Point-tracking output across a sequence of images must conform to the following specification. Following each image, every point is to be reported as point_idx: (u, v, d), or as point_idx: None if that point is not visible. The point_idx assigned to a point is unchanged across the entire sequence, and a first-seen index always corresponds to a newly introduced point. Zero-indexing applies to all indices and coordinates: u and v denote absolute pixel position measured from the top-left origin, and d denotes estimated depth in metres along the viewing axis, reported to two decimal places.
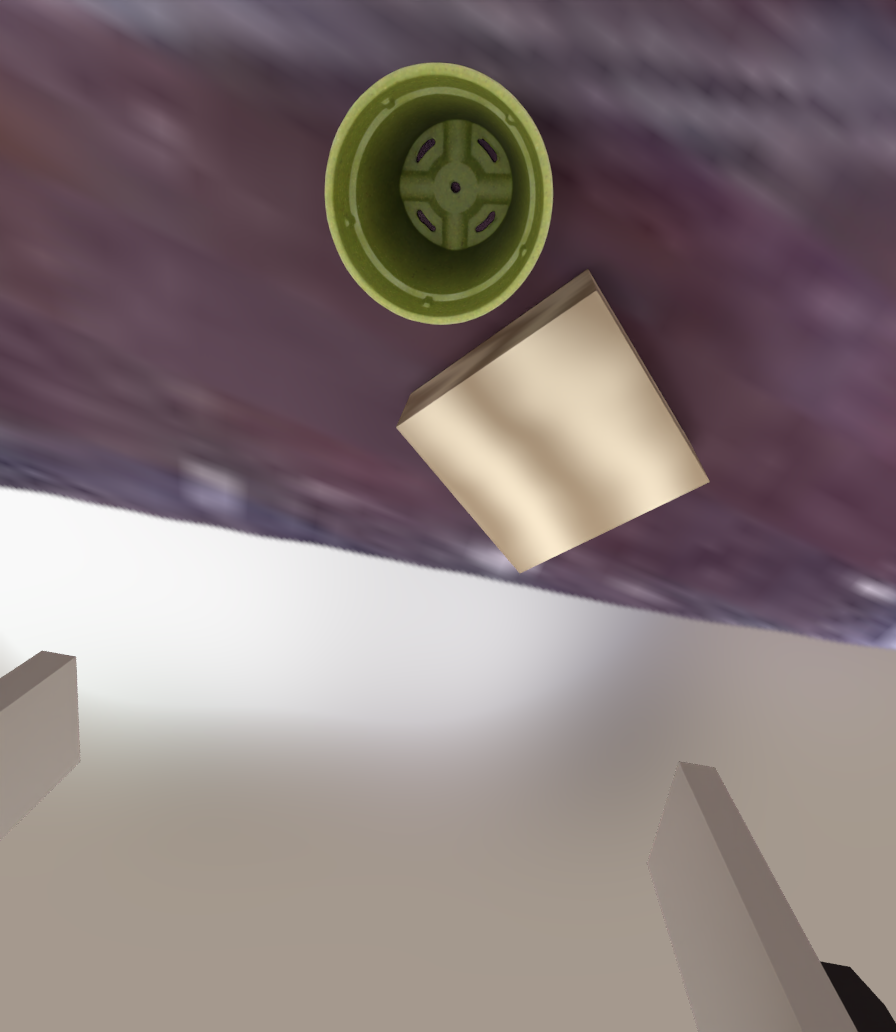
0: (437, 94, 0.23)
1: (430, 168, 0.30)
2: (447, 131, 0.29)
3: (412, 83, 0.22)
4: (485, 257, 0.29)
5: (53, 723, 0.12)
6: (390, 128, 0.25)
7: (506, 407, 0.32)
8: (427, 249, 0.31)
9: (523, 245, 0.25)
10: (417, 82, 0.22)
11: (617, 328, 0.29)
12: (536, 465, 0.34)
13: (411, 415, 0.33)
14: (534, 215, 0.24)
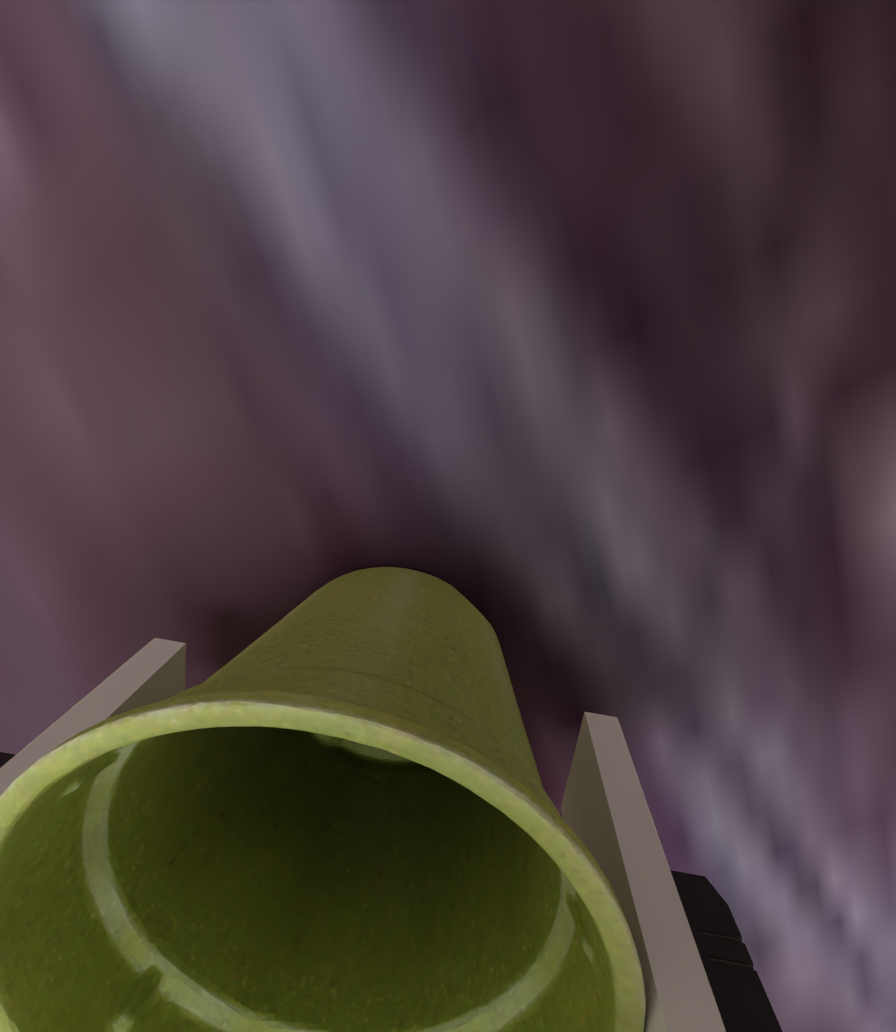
0: None
1: None
2: None
3: None
4: (344, 857, 0.14)
5: None
6: (351, 641, 0.10)
7: None
8: None
9: None
10: None
11: None
12: None
13: None
14: None
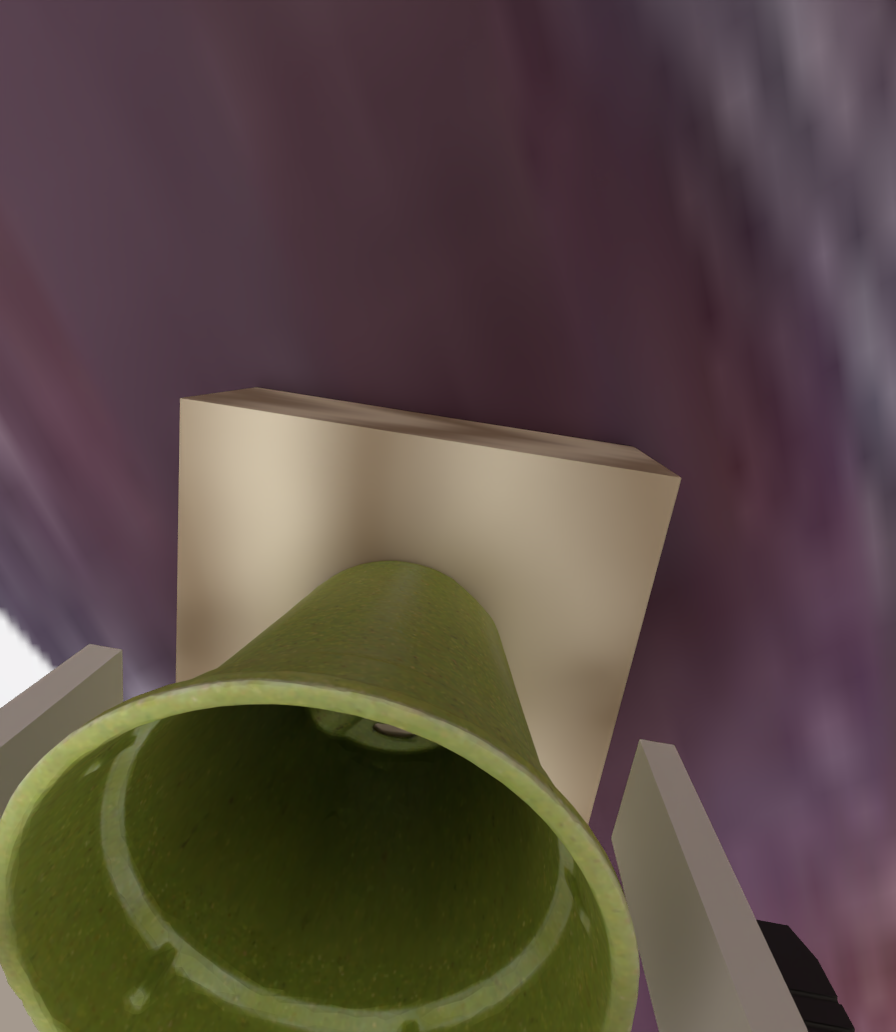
0: None
1: None
2: None
3: None
4: (349, 842, 0.14)
5: None
6: (357, 630, 0.10)
7: (395, 529, 0.15)
8: (277, 715, 0.15)
9: None
10: None
11: (657, 558, 0.15)
12: None
13: (226, 403, 0.15)
14: (478, 1024, 0.10)
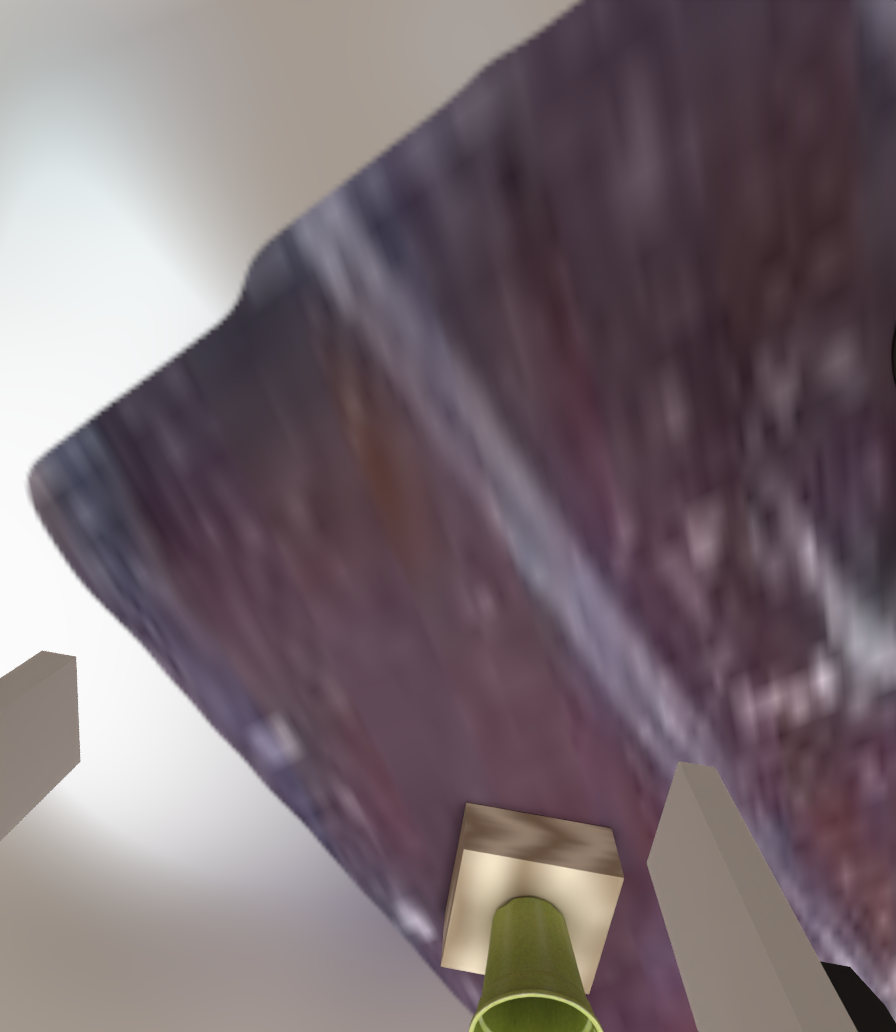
0: None
1: None
2: None
3: (571, 998, 0.39)
4: None
5: (53, 723, 0.12)
6: (537, 954, 0.42)
7: (531, 887, 0.47)
8: None
9: None
10: (573, 998, 0.39)
11: (616, 899, 0.46)
12: None
13: (477, 849, 0.46)
14: None
